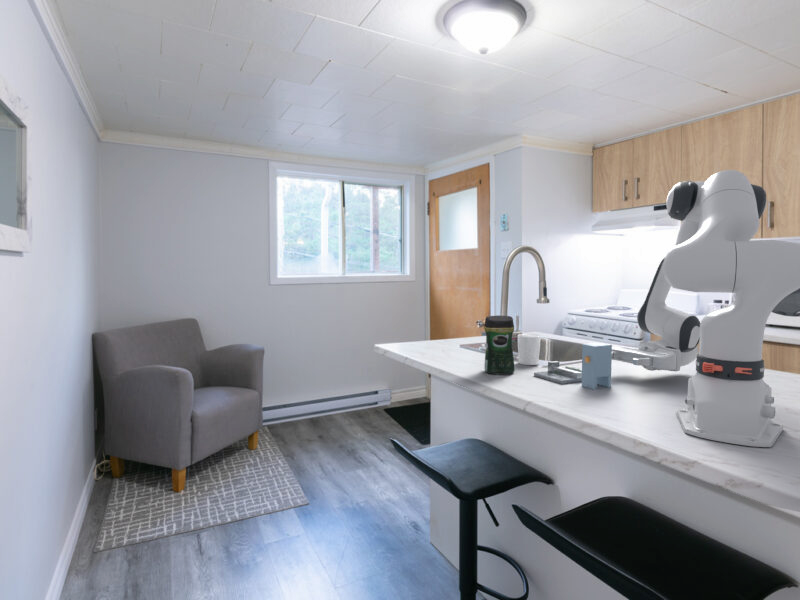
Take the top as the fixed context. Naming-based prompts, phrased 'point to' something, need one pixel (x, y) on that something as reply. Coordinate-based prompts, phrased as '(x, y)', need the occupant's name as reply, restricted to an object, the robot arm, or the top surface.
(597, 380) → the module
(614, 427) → the top surface
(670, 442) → the top surface
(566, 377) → the rail plate
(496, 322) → the coffee jar
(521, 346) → the white cup
